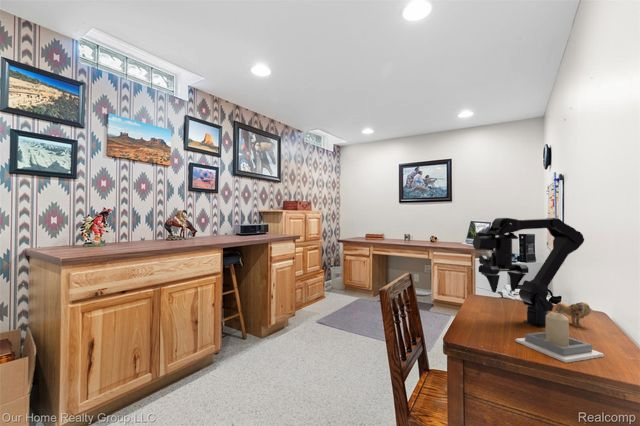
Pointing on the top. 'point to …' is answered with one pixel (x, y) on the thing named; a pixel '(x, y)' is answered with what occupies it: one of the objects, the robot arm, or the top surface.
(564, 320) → the candle
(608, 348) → the top surface
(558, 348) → the candle tray
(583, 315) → the lion figurine
